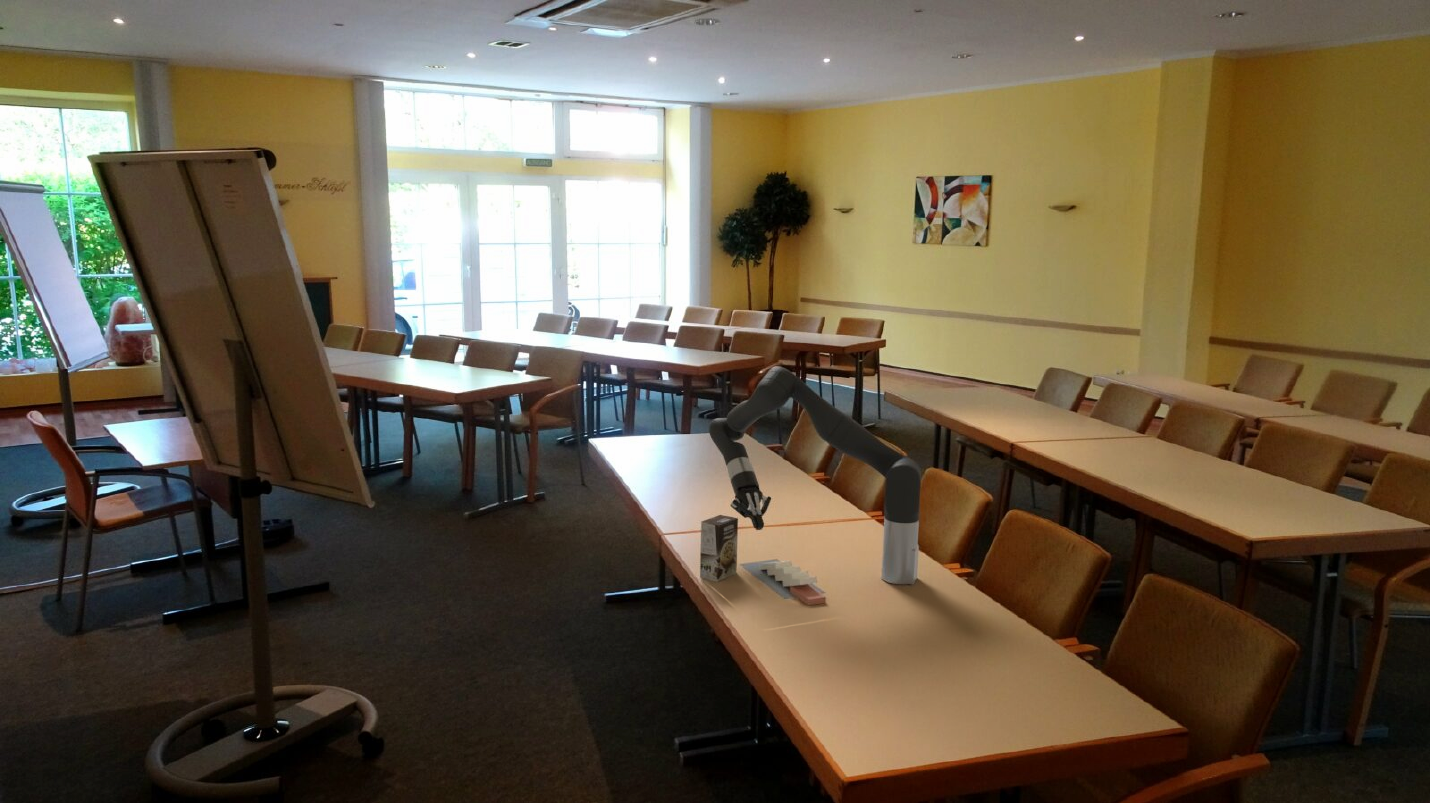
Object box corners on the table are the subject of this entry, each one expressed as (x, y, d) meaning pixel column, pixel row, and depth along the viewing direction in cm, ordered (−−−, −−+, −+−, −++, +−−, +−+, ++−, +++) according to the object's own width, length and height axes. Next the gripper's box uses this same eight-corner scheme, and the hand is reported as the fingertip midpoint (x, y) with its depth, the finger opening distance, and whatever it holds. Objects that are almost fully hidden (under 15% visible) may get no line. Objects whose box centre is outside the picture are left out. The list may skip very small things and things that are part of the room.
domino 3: (791, 572, 261) (808, 570, 252) (792, 578, 261) (809, 576, 252) (774, 575, 259) (791, 573, 250) (775, 581, 259) (792, 579, 250)
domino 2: (783, 567, 265) (799, 565, 256) (784, 573, 265) (800, 571, 256) (767, 569, 263) (783, 567, 254) (767, 575, 263) (784, 574, 254)
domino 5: (806, 583, 253) (825, 596, 244) (806, 589, 253) (825, 602, 244) (790, 585, 251) (808, 599, 242) (789, 591, 251) (808, 605, 242)
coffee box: (717, 583, 258) (719, 525, 255) (699, 577, 262) (699, 520, 259) (737, 574, 265) (739, 517, 262) (719, 568, 269) (720, 513, 266)
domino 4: (798, 578, 257) (816, 576, 248) (799, 584, 257) (817, 582, 248) (782, 580, 255) (799, 578, 246) (783, 586, 255) (800, 584, 246)
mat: (739, 565, 272) (739, 563, 272) (776, 560, 277) (776, 558, 276) (784, 600, 247) (784, 598, 246) (825, 593, 251) (825, 592, 251)
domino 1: (775, 561, 270) (791, 560, 261) (776, 567, 269) (792, 566, 260) (759, 563, 268) (774, 562, 259) (760, 569, 267) (775, 568, 258)
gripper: (757, 481, 287) (775, 532, 278) (717, 484, 281) (734, 537, 272) (767, 468, 281) (785, 520, 272) (726, 471, 275) (744, 524, 267)
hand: (759, 528), depth 272 cm, fingers closed
